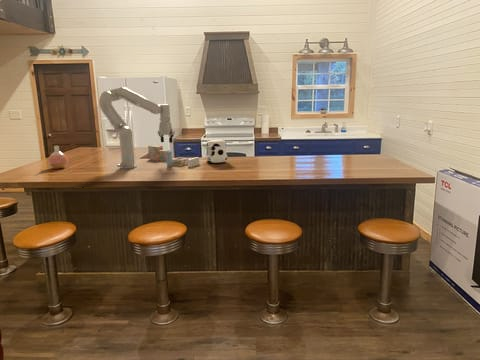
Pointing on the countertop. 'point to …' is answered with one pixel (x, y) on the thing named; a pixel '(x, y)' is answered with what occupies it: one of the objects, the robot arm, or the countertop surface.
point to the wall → (193, 162)
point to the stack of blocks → (157, 153)
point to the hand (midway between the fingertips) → (166, 142)
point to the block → (179, 161)
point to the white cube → (216, 151)
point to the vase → (57, 159)
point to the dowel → (169, 159)
